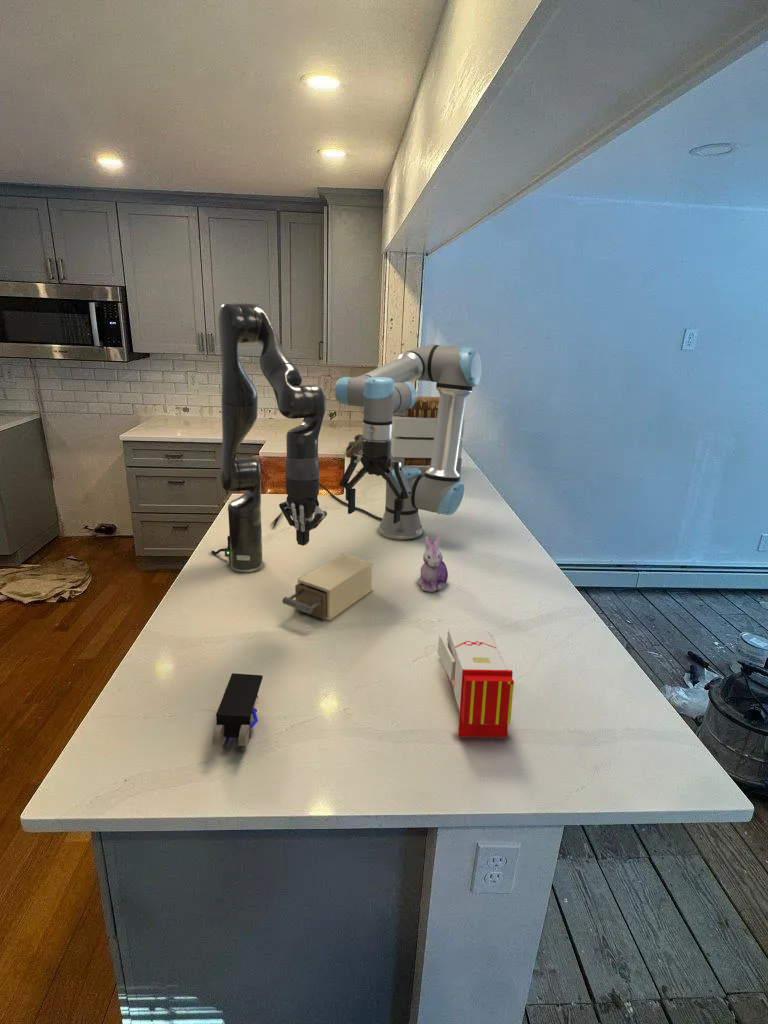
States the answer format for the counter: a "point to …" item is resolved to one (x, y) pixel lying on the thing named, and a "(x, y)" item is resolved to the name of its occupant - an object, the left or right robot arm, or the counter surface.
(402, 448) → the grey slatted crate
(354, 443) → the fossil
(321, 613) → the drawer
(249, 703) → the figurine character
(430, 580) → the figurine
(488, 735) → the toy
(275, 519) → the feather
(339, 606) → the cabinet
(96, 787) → the counter surface
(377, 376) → the right robot arm
